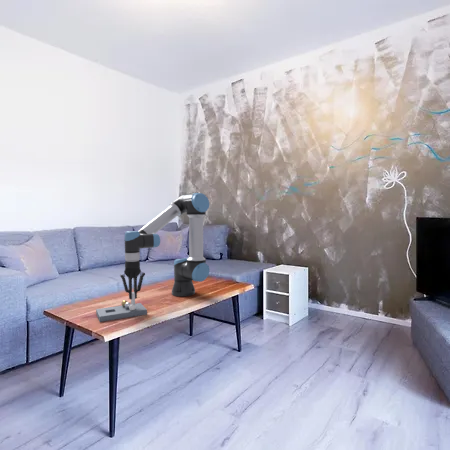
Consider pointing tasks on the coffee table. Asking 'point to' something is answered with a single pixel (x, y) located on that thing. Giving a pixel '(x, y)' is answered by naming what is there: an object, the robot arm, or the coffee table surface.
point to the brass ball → (123, 302)
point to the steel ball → (127, 305)
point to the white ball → (132, 307)
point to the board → (120, 312)
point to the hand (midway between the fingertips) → (133, 304)
